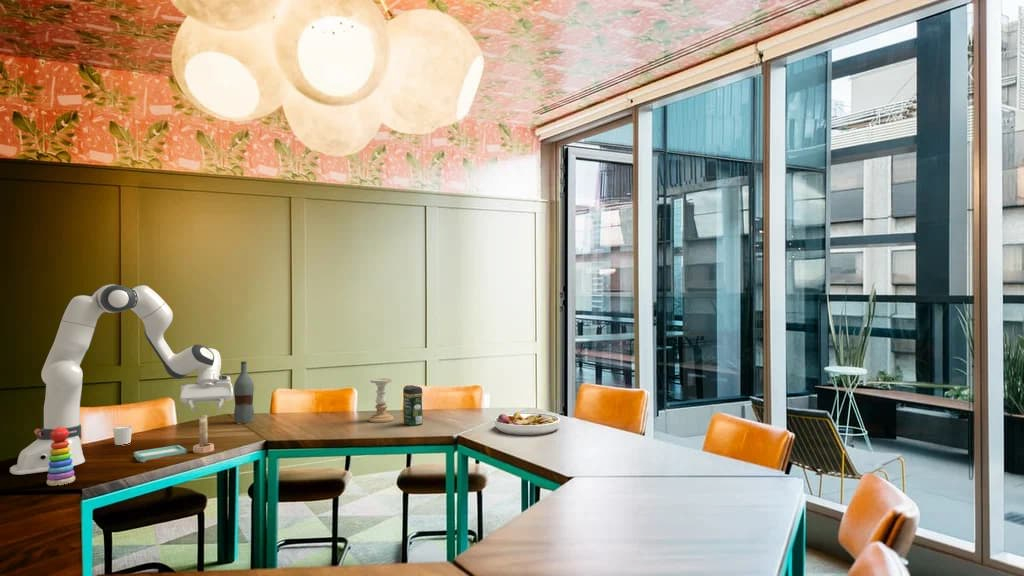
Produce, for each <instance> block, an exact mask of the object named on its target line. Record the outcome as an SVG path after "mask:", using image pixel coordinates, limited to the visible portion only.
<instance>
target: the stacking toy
mask: <svg viewBox="0 0 1024 576" xmlns="http://www.w3.org/2000/svg"><path fill="white" fill-rule="evenodd" d="M68 435H69V432H68V430H67V429H66V428H64V427H58V428H55V429H54V430H53V431H52V432H51V435H50V437H51V439H52V440H53V441H54V442H53V443H52V444H51V448H53V449H51V450H50V454H51V455H50V457H49V459H50V460H51V461H50V462H49V466H50V467H49V468H48V471H47V473H48V474H47V475H46V476H47V477H46V478H47V480H46V484H47V485H48V486H51V487H56V486H57V485H59V486H64V484H65V485H68V483H69V484H71V483H74V482H75V480H76V476H75V470H74V466H73V464H71V463H72V459H71V458H70V457H71V454H70V453H69V451H70V448H69V447H67V446H68V445H69V442H68V441H65V440H66V439H67V438H68Z"/></svg>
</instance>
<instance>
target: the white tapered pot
mask: <svg viewBox="0 0 1024 576" xmlns="http://www.w3.org/2000/svg"><path fill="white" fill-rule="evenodd" d="M112 430H113V431H112V432H113V438H114V440H113V441H114V445H115V444H116V445H122V446H124V445H123V444H128V443H130V442H131V440H132V434H133V433H132V432H133V431H132V430H133V426H132V425H131V426H130V425H128V426H127V425H125V426H124V425H123V426H118V427H116V426H115V427H114V428H113V429H112ZM130 444H131V443H130ZM116 445H115V446H116ZM128 445H129V444H128Z"/></svg>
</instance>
